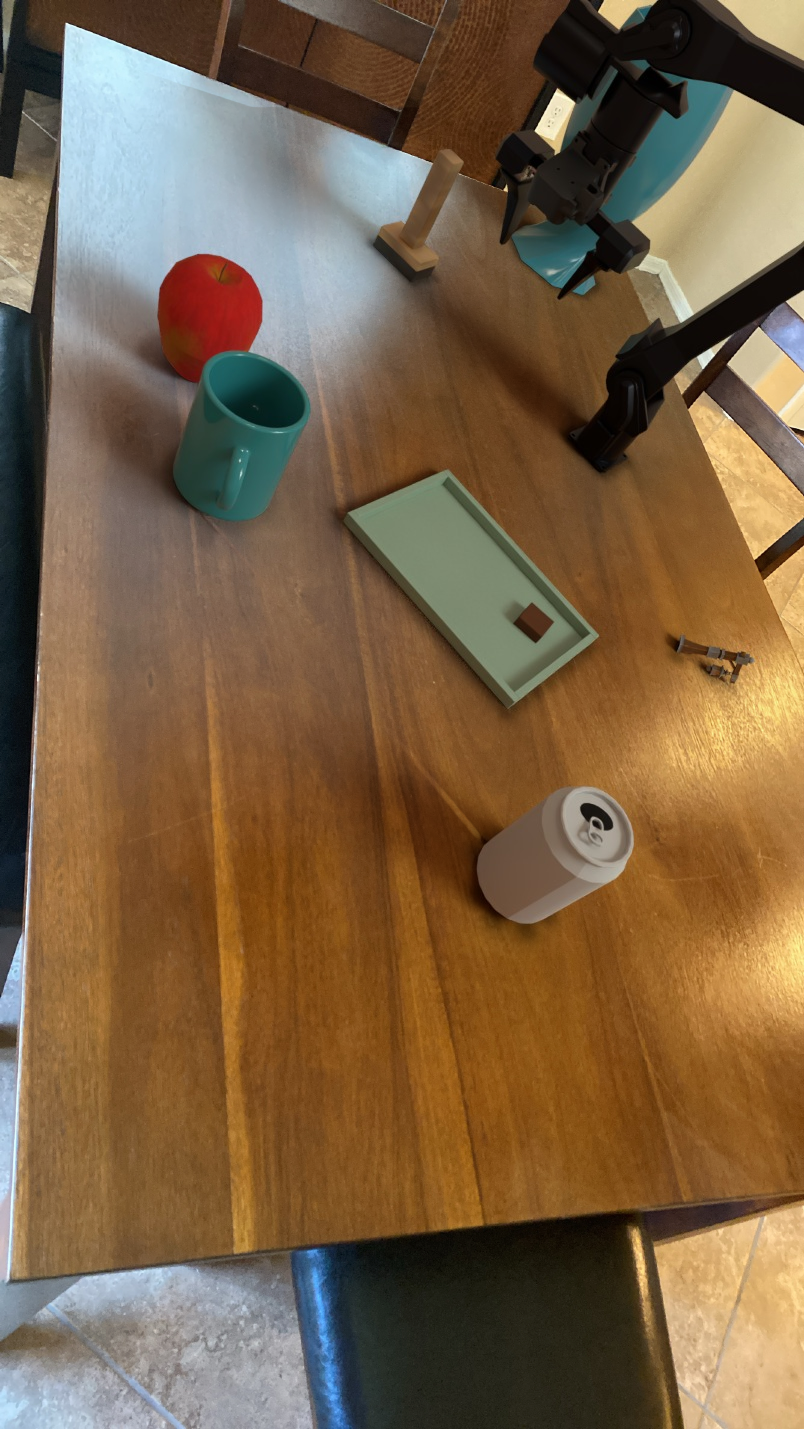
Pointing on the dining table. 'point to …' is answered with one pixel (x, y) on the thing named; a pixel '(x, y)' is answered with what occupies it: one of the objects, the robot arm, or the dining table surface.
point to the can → (555, 854)
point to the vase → (626, 174)
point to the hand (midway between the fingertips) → (530, 270)
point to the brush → (420, 221)
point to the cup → (239, 435)
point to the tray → (471, 582)
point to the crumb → (533, 622)
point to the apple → (206, 312)
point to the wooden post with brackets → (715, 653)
